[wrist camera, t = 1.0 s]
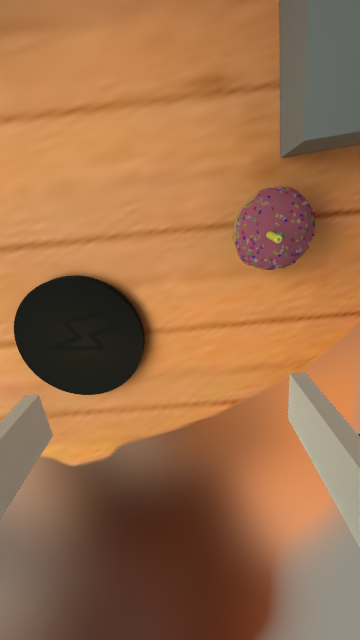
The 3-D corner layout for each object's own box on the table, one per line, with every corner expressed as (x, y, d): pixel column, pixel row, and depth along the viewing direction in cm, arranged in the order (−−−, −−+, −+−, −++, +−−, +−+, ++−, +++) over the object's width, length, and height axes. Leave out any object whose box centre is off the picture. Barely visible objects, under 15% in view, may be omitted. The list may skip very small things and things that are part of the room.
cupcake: (237, 274, 33) (265, 297, 22) (217, 208, 31) (237, 197, 19) (301, 250, 32) (365, 262, 21) (287, 180, 30) (351, 151, 18)
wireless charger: (0, 338, 37) (-10, 344, 35) (67, 246, 33) (60, 248, 31) (97, 405, 41) (93, 414, 40) (169, 332, 37) (169, 338, 35)
